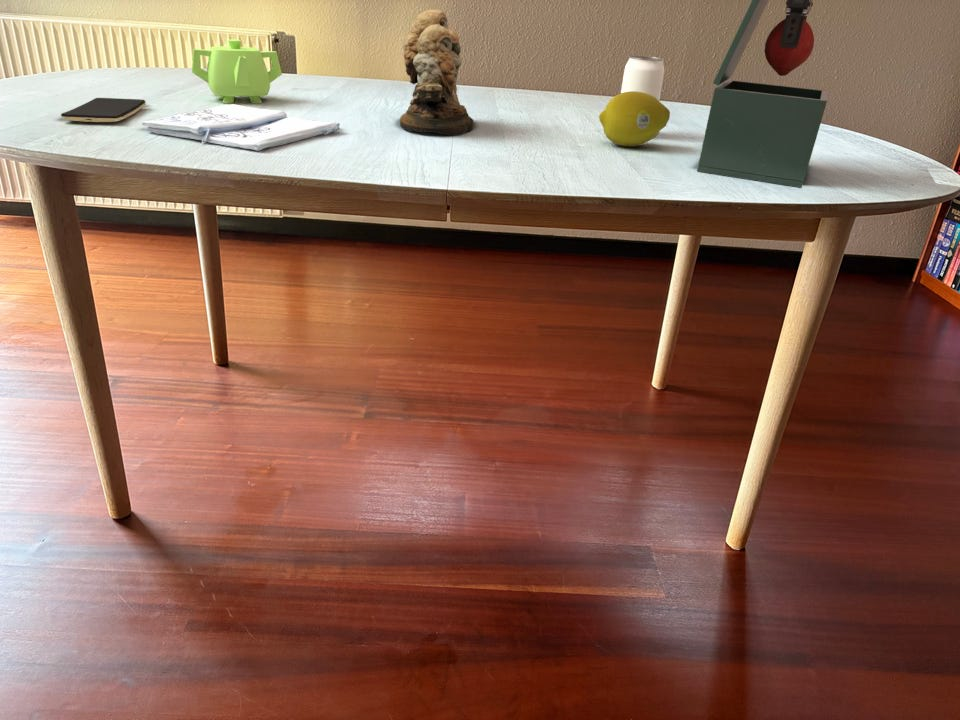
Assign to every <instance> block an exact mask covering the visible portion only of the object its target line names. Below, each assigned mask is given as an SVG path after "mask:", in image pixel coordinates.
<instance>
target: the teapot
mask: <svg viewBox="0 0 960 720" xmlns="http://www.w3.org/2000/svg"><path fill="white" fill-rule="evenodd" d="M227 43H228V45H229V46H227V45H226V46H225V45H223V46H222V45H217V46H216V45H214V46H211V47H210V49H203V48H202V49H199V48H192V60H191V73H192V74H194V76H197V78H200V79H202V80H203V81H204V82H206V83H207V86H208V88H209V89H210V91H211V93H213V94H214V95H215V96H218V99H222V101H221V102H222V103H224V104H235V97H245V98H246V99H249V101H250V103H252V104H262V103H263V101H262V99H261V98H260V97H265V96H268V95H269V92H270V90H271V83H273V82H274V81H275V80H276V79H278V78H279V77H280V76H282V75H283V72H282V68H281V64H280V60H279V56H278V52H277V51H275V50H270V51H269V50H266V51H265V50H263V51H261V50H260V49H258V48H256V47H250V46H249V47H248V46H242V40H241V39H235V38H230V39H227ZM201 56H203V57H208V59H207V65H206V70H204V69H203V68H202V66H201V65H202V63H201ZM266 58H270V63H271V69H270V70H269V71H268V68H267V66H266V62H265V60H264V59H266Z"/></svg>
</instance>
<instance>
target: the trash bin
mask: <svg viewBox="0 0 960 720" xmlns="http://www.w3.org/2000/svg"><path fill="white" fill-rule="evenodd" d="M828 96H829V90H826V89H817V88H808V87H799V86H791V85H780V84H773V83H772V84H771V83H763V82H753V81H746V80H744V81H743V80H736V79H735V80H734V79H728V80H726V81H725V82H723V83H721V84H720V85H717V86H716V87H715V88H714V90H713V95H712V99H711V104H710V108H709V114H708V118H707V122H706V127H705V131H704V137H703V141H702V145H701V151H700V156H699V160H698V164H697V168H696V171H697V173H705V174H710V175H711V174H712V175H717V176H724V177H731V178H737V179H743V180H748V181H749V180H750V181H755V182H762V183H769V184H775V185H782V186H788V187H795V188H803V186H804V183H805V178H806V175H807V172H808V169H809V165H810V161H811V157H812V154H813V151H814V147H815V145H816V141H817V137H818V134H819V130H820V127H821V123H822V121H823V117H824V113H825V110H826V106H827V103H828Z"/></svg>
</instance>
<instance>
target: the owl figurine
mask: <svg viewBox="0 0 960 720" xmlns="http://www.w3.org/2000/svg"><path fill="white" fill-rule="evenodd" d="M459 38H460V37H459V34H457V32H456V31H454V30H451V29H449V25H448V17H447V15H446V14H445V12H444V11H443V10H441V9H439V8H436V9H435V8H433V9H432V8H430V9H427V10H425V11H422V12H421V13H420V14H418V15H417V16H416V17H415V19H414V21H413V22H412V24H411V27H410V32H409V33H408V34H407V35H406V36H405V38H404V40H403V45H402V46H403V58H404V59H403V60H404V66H405V72H406V74H407V76H409V78H410V79H409V83H410V84H412V85H414V89H413V92H412V95H411V96H412V99H411V100H410V102H409V106H408V108H407V110H406V111H405V112H404V113H402V114H401V116H400V118H399V125H400V127H401V128H402V129H403V130H406V131H408V132H414V131H415V132H416V133H418V134H420V133H421V132H422V133H424V132H428V133H429V132H430V133H431V132H433V133H437V134H441V135H444V136H458V135H461V134H464V133H467V132H470V131H472V130H473V127H474V119H473V118H472V117H471V116H470V115H469V113H468V110H467V108H466V107H465V105H463V104H461V103H460V101H459V96H458V93H457V92H458V91H457V90H458V87H457V82H458V75H459V69H460V67H461V66H462V62H463V61H462V57H461V53H462V52H461V51H462V50H461V48H462V47H461V44H460V39H459Z"/></svg>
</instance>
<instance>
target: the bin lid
mask: <svg viewBox="0 0 960 720" xmlns="http://www.w3.org/2000/svg"><path fill="white" fill-rule="evenodd" d="M769 1H770V0H751V1H750V3H749V6H748V8H747V9H746V12H745V14H744V16H743V18H742V21H741V22H740V25H739V26H738V28H737V31H736V33H735V36H734V38H733V39H732V41H731V44H730V45H729V48H728V50H727V52H726V54H725V56H724V58H723V60H722V62H721V65H720V66H719V69H718V70H717V73H716V75H715V77H714V79H713V81H712V84H713V85H716V86H719V85H721V84H722V83H724V82H725V81H727V80H730V79H731V78H732V77H733V75H734V73H735V71H736V69H737V67H738V65H739V63H740V61H741V58H742V56H743V54H744V52H745V51H746V48H747V46H748V44H749V42H750V40H751V38H752V36H753V34H754V32H755V30H756V28H757V25H758V24H759V21H760V19H761V17H762V15H763V13H764V11H765V9H766V7H767V5H768V3H769Z"/></svg>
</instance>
